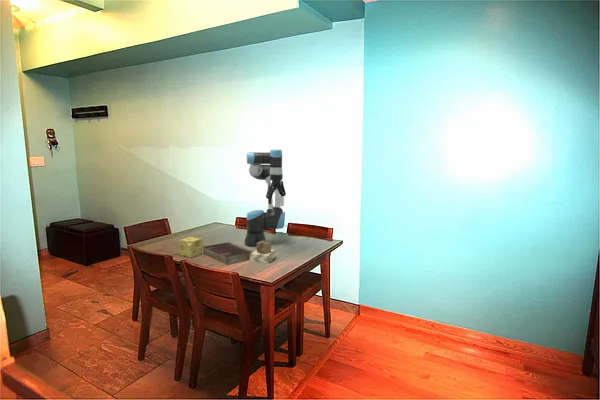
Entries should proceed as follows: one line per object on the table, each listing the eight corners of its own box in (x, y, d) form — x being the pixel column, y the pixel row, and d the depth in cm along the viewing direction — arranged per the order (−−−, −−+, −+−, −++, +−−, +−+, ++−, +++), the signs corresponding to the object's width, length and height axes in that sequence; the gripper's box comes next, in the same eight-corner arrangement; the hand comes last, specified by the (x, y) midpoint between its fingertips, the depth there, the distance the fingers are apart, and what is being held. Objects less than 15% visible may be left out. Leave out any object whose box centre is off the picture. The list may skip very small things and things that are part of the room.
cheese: (190, 258, 213) (189, 242, 212) (178, 255, 219) (177, 239, 217) (203, 253, 222) (202, 238, 220) (191, 251, 227) (191, 236, 226)
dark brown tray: (254, 258, 213) (254, 250, 213) (227, 265, 201) (227, 257, 200) (229, 248, 235) (229, 241, 234) (203, 254, 222) (203, 246, 222)
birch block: (249, 262, 207) (249, 253, 207) (258, 256, 219) (258, 248, 218) (268, 264, 204) (268, 255, 203) (276, 258, 215) (276, 250, 214)
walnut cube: (256, 252, 209) (256, 242, 209) (263, 250, 214) (263, 240, 214) (264, 254, 206) (264, 244, 205) (270, 251, 211) (270, 242, 210)
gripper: (270, 175, 209) (270, 210, 212) (291, 173, 231) (290, 205, 234) (259, 175, 212) (260, 209, 215) (281, 172, 234) (281, 204, 237)
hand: (276, 207), depth 224 cm, fingers open, 13 cm apart
